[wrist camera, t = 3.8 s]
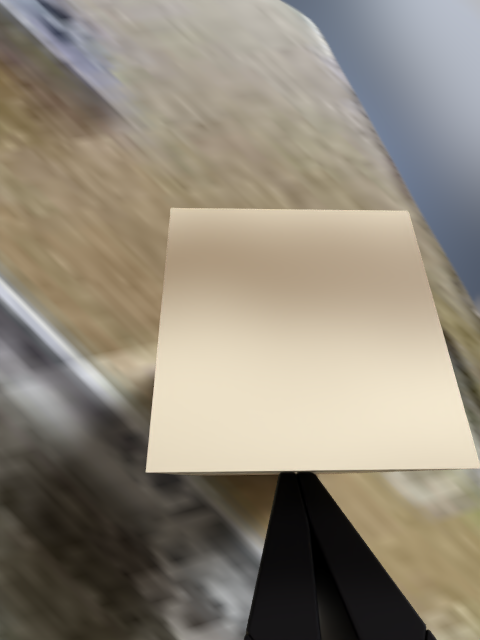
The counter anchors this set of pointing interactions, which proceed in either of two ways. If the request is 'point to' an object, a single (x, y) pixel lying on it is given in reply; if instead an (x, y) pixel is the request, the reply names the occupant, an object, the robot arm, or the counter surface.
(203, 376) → the marked block
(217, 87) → the counter surface
